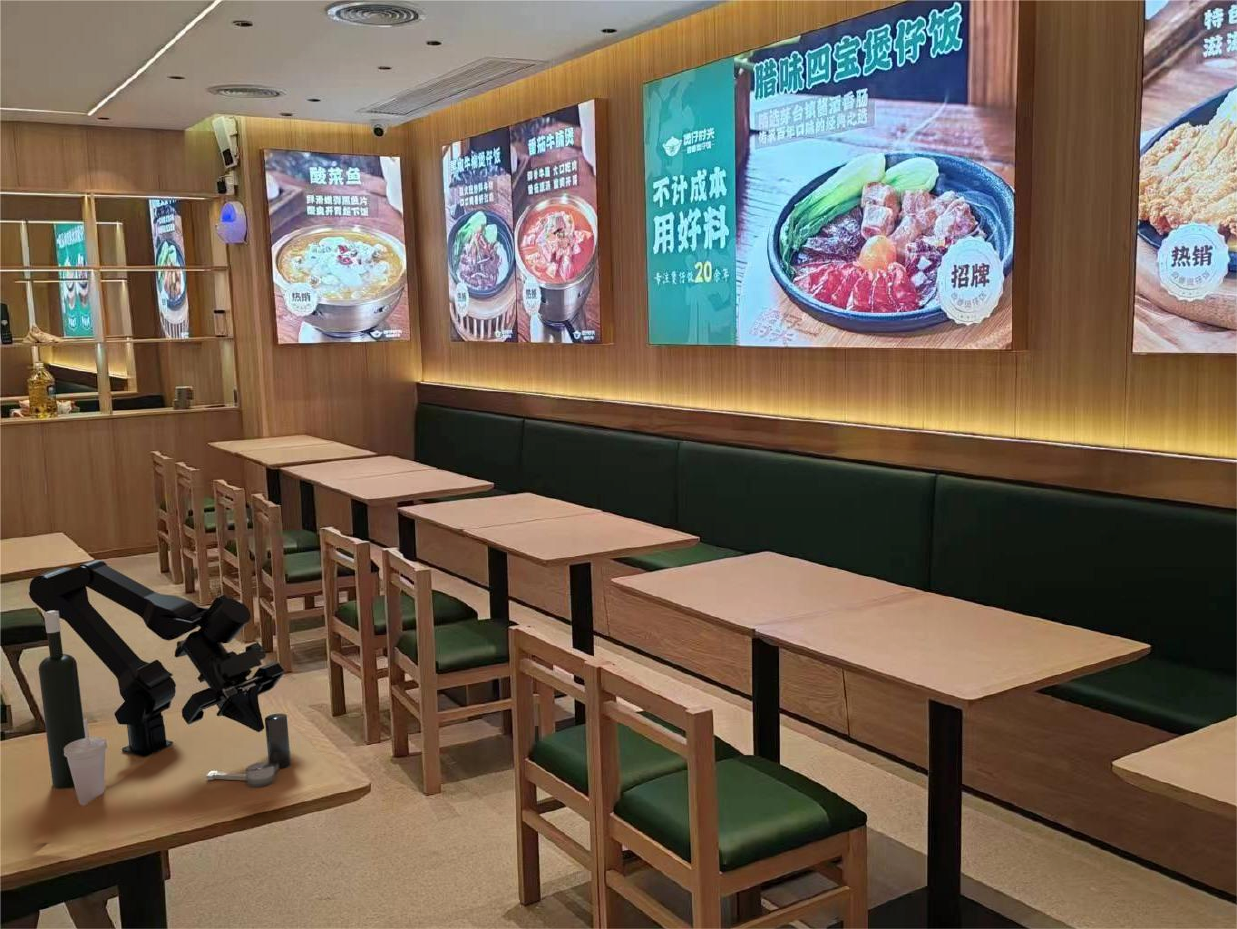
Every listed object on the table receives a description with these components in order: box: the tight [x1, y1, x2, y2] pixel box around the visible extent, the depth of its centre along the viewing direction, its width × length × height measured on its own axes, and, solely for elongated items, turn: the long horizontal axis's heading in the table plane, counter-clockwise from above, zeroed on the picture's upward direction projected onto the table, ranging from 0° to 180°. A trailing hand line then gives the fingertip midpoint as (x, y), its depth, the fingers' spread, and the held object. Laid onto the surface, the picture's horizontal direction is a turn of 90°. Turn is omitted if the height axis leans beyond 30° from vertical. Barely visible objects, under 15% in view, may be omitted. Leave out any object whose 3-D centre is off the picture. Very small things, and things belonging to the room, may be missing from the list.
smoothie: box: [64, 718, 108, 807], centre depth 181 cm, size 6×6×14 cm
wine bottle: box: [38, 610, 85, 789], centre depth 187 cm, size 6×6×30 cm
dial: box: [205, 713, 292, 788], centre depth 187 cm, size 10×12×8 cm
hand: (261, 730), depth 191 cm, fingers closed
